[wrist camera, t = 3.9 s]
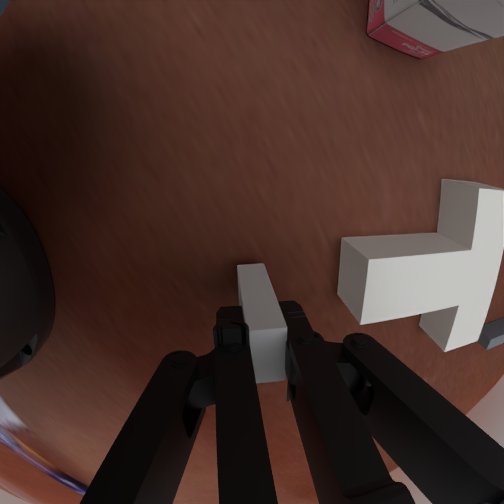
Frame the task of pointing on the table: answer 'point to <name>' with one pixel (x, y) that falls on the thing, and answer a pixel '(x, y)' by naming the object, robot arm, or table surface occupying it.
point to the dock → (492, 334)
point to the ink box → (434, 24)
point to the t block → (431, 267)
